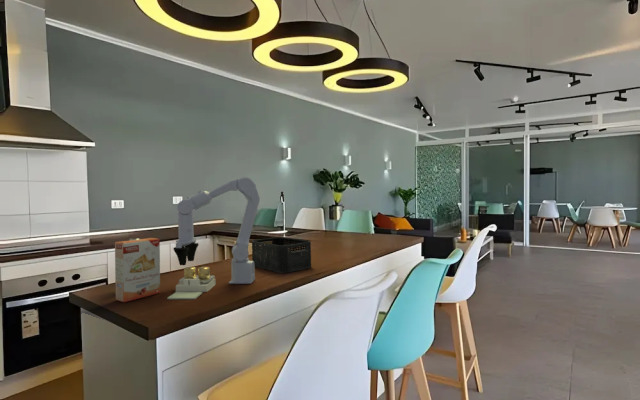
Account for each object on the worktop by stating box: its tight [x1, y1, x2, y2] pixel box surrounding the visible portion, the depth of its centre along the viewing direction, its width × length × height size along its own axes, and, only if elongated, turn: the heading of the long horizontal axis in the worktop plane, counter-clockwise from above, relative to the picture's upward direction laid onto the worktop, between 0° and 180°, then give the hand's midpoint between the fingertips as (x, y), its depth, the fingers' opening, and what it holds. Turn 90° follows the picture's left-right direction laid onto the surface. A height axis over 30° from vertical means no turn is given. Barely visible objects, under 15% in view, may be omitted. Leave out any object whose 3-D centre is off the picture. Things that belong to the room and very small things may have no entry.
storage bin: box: [251, 236, 312, 274], centre depth 177 cm, size 29×19×13 cm
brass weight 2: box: [197, 266, 211, 279], centre depth 140 cm, size 4×4×4 cm
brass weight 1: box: [183, 266, 197, 279], centre depth 140 cm, size 4×4×4 cm
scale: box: [175, 278, 217, 293], centre depth 139 cm, size 12×10×5 cm
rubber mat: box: [166, 291, 203, 300], centre depth 129 cm, size 10×7×1 cm
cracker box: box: [114, 237, 161, 303], centre depth 128 cm, size 14×6×21 cm, turn 148°
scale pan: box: [178, 275, 216, 283], centre depth 140 cm, size 12×8×1 cm, turn 88°
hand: (186, 262), depth 142 cm, fingers open, 7 cm apart
